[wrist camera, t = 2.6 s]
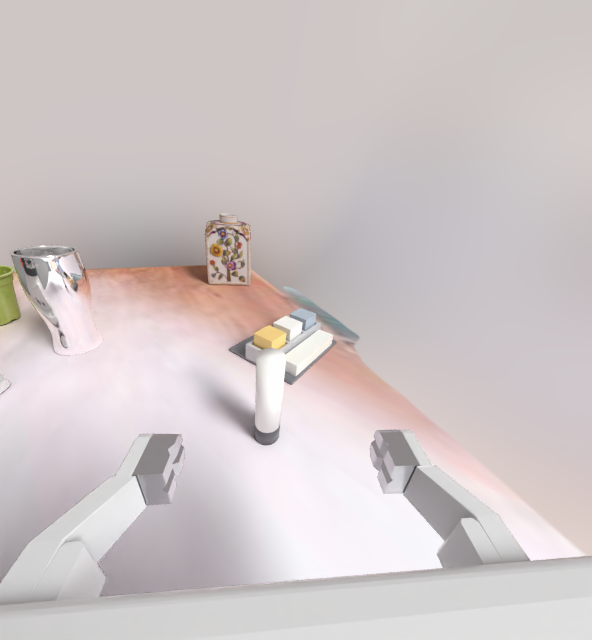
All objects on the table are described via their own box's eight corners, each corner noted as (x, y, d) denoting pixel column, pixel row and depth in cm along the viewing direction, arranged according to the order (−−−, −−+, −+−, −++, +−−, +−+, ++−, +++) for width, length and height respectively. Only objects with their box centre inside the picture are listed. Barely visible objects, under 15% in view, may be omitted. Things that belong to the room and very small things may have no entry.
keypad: (229, 350, 42) (228, 335, 41) (282, 320, 53) (283, 308, 52) (291, 384, 36) (293, 368, 35) (336, 343, 47) (338, 329, 46)
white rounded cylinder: (249, 435, 28) (250, 357, 23) (265, 420, 30) (269, 344, 25) (268, 449, 27) (273, 369, 22) (283, 432, 29) (291, 355, 24)
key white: (272, 337, 43) (273, 322, 42) (284, 330, 46) (285, 315, 45) (289, 345, 42) (290, 329, 40) (300, 337, 44) (302, 322, 43)
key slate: (288, 327, 47) (289, 313, 45) (298, 321, 50) (300, 307, 48) (304, 334, 45) (306, 320, 44) (314, 327, 48) (316, 313, 47)
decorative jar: (212, 272, 78) (208, 210, 70) (249, 273, 80) (250, 214, 72) (207, 285, 68) (202, 215, 59) (250, 286, 70) (251, 219, 62)
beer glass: (95, 329, 44) (67, 242, 37) (115, 343, 41) (88, 252, 34) (43, 345, 38) (-1, 248, 32) (61, 363, 35) (17, 259, 28)
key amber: (253, 349, 40) (254, 333, 38) (268, 340, 42) (268, 325, 41) (271, 358, 38) (272, 341, 37) (284, 348, 41) (286, 332, 39)
